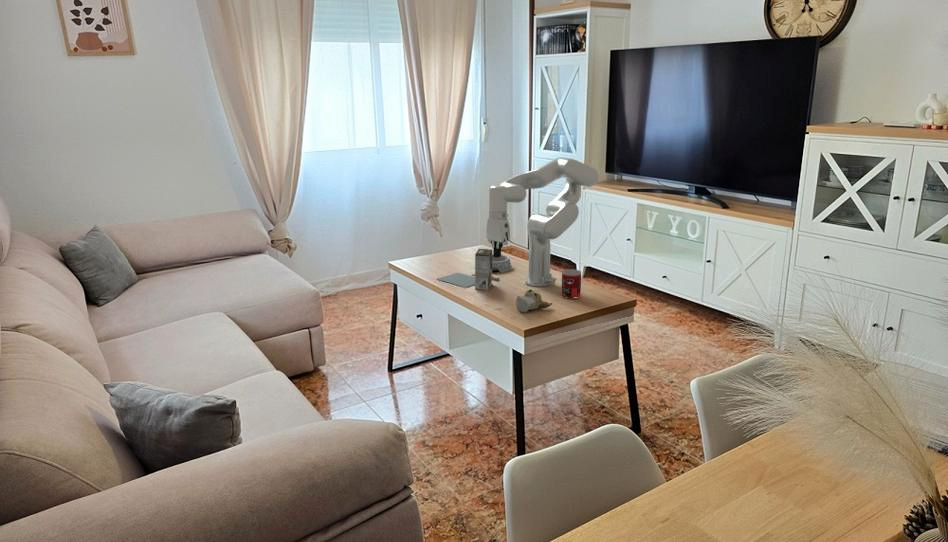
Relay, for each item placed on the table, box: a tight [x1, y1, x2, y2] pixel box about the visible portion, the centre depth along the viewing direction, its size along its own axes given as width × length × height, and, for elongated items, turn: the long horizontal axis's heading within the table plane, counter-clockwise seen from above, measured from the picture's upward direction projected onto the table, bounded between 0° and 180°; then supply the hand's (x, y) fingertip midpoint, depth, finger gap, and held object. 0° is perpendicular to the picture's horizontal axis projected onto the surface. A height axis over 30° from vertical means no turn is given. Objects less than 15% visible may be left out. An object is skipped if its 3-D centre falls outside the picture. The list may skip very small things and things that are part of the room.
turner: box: [471, 272, 500, 282], centre depth 291 cm, size 15×4×1 cm, turn 46°
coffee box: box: [474, 248, 493, 291], centre depth 275 cm, size 9×6×16 cm
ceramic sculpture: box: [515, 289, 553, 313], centre depth 247 cm, size 11×9×15 cm
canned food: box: [561, 268, 582, 298], centre depth 261 cm, size 8×8×11 cm
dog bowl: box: [492, 253, 513, 273], centre depth 306 cm, size 17×18×5 cm
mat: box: [436, 272, 475, 289], centre depth 287 cm, size 19×14×1 cm
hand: (497, 256), depth 267 cm, fingers closed
